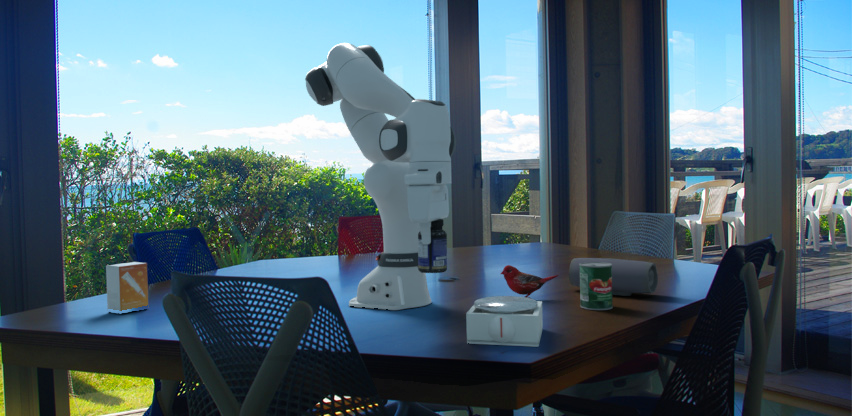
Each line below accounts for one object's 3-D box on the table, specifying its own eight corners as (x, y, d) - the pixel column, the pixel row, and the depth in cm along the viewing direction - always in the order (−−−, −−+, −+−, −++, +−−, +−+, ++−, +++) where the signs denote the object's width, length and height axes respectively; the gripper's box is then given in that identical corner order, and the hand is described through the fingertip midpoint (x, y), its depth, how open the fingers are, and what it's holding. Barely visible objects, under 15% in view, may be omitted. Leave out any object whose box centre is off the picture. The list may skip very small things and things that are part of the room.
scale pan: (469, 326, 111) (469, 307, 110) (480, 312, 123) (479, 295, 123) (535, 329, 107) (535, 309, 107) (539, 314, 120) (539, 296, 120)
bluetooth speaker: (567, 292, 161) (567, 258, 161) (581, 287, 168) (580, 254, 168) (647, 300, 146) (647, 263, 146) (659, 295, 153) (658, 259, 153)
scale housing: (466, 344, 110) (465, 314, 109) (478, 326, 124) (478, 299, 124) (538, 347, 106) (537, 316, 106) (542, 328, 120) (542, 301, 120)
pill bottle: (447, 269, 120) (447, 218, 119) (446, 273, 114) (446, 220, 113) (419, 268, 120) (419, 218, 120) (416, 273, 114) (416, 220, 114)
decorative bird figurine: (498, 301, 150) (497, 265, 150) (556, 296, 155) (555, 260, 155) (503, 303, 147) (502, 266, 147) (561, 298, 153) (560, 262, 152)
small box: (120, 315, 146) (118, 266, 146) (107, 313, 149) (104, 265, 149) (149, 309, 153) (147, 262, 153) (136, 307, 156) (133, 261, 156)
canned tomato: (590, 302, 146) (589, 261, 145) (618, 306, 140) (617, 263, 140) (574, 307, 140) (573, 264, 140) (602, 312, 135) (601, 267, 134)
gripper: (428, 177, 127) (429, 237, 128) (401, 176, 107) (403, 247, 108) (455, 176, 125) (456, 237, 126) (433, 175, 106) (434, 247, 106)
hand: (431, 241), depth 117 cm, fingers closed on pill bottle, 6 cm apart
